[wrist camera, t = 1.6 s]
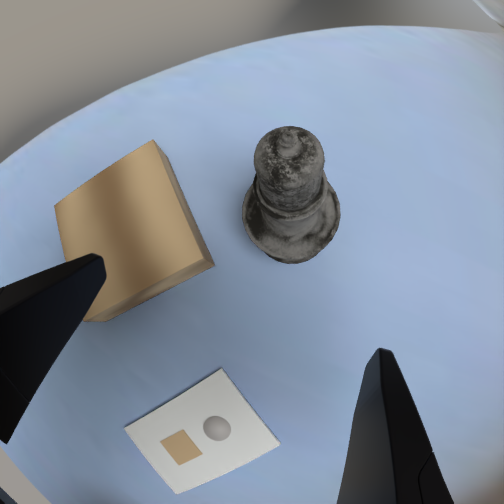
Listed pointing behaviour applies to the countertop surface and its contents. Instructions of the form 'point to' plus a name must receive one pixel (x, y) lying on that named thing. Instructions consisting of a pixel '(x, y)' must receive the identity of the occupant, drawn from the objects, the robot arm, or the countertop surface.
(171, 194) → the base brick
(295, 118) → the countertop surface
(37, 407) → the countertop surface
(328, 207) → the weathered stone finial
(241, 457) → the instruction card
